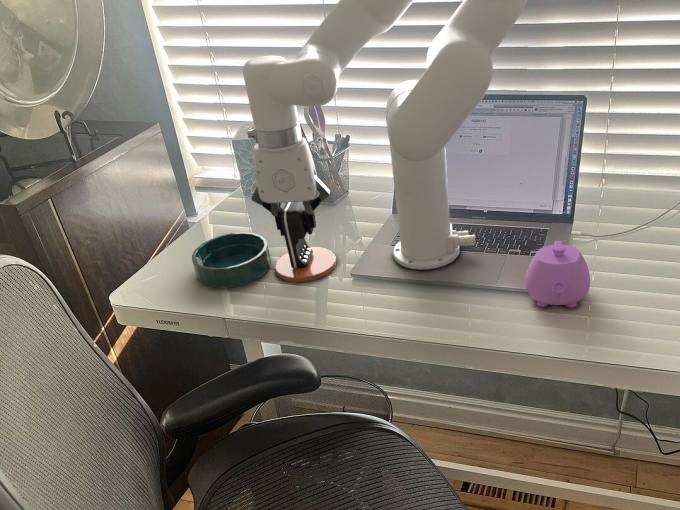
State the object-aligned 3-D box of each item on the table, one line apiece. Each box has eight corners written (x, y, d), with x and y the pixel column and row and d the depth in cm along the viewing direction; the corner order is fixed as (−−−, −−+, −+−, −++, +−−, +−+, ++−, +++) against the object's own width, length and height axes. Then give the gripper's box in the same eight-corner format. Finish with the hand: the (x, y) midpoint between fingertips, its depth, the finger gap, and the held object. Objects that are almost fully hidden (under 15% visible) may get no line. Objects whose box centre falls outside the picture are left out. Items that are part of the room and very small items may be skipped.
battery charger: (310, 269, 128) (299, 213, 121) (291, 270, 129) (278, 214, 122) (317, 250, 134) (307, 196, 127) (298, 251, 134) (287, 197, 127)
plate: (339, 249, 135) (339, 244, 135) (332, 280, 126) (331, 275, 125) (282, 253, 136) (281, 248, 136) (270, 284, 127) (269, 279, 127)
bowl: (278, 250, 138) (273, 230, 135) (263, 288, 126) (258, 266, 124) (209, 254, 139) (203, 234, 136) (189, 292, 128) (182, 271, 125)
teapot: (588, 275, 119) (591, 227, 113) (590, 326, 107) (594, 275, 101) (526, 275, 121) (527, 227, 115) (522, 324, 109) (523, 273, 104)
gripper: (225, 146, 114) (248, 244, 125) (324, 139, 112) (340, 239, 123) (235, 130, 120) (257, 225, 131) (330, 124, 118) (345, 220, 129)
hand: (297, 230), depth 127 cm, fingers open, 4 cm apart
